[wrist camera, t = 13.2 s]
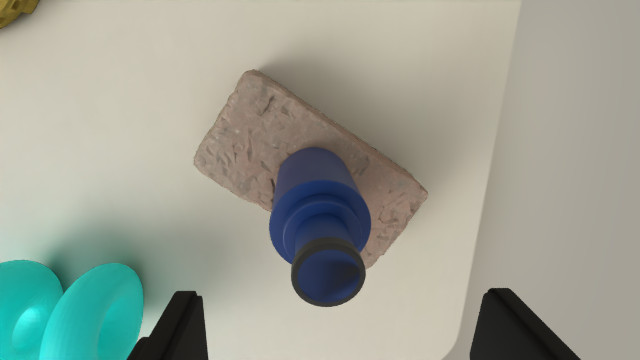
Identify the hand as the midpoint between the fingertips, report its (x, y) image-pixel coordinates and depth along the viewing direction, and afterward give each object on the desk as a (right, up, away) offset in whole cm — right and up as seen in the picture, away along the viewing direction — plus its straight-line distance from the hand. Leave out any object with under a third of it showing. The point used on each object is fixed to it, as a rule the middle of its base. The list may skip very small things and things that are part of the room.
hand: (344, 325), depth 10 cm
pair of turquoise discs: (-22, -5, +19) cm, 29 cm away
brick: (-2, +6, +17) cm, 18 cm away
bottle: (-1, +5, +12) cm, 13 cm away
